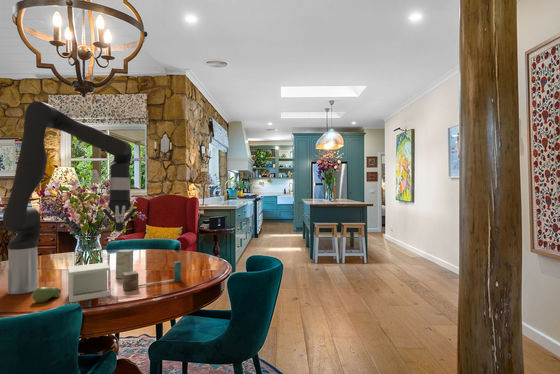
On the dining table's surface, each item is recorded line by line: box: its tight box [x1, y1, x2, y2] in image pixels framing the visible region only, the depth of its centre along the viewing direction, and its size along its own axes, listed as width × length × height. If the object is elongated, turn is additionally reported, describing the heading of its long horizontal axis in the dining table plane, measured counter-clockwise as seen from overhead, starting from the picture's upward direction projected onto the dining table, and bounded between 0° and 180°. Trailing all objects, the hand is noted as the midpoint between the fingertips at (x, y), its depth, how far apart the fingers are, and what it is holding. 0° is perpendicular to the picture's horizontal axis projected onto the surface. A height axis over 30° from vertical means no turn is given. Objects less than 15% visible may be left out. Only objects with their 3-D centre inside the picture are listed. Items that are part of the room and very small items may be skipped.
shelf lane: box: [67, 261, 111, 303], centre depth 130 cm, size 13×11×11 cm
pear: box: [31, 286, 62, 304], centre depth 125 cm, size 6×5×10 cm
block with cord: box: [122, 261, 182, 291], centre depth 143 cm, size 23×5×8 cm, turn 123°
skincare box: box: [115, 249, 134, 279], centre depth 156 cm, size 6×4×12 cm
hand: (119, 231), depth 139 cm, fingers closed
